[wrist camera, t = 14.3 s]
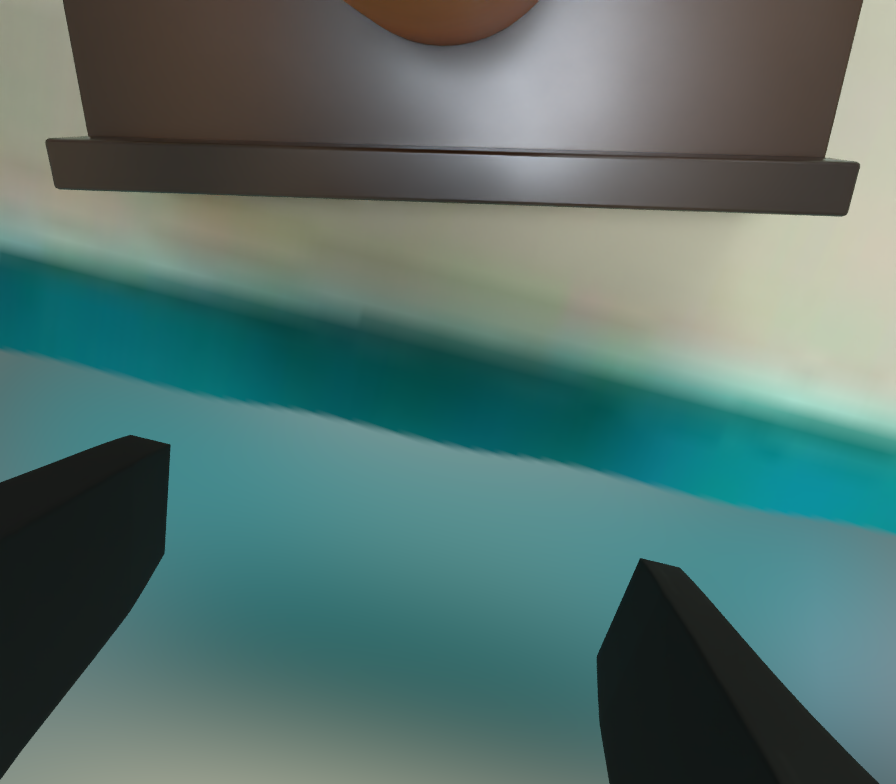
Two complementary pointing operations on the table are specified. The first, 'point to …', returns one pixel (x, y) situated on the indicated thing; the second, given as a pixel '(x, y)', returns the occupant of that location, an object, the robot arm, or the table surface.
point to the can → (443, 18)
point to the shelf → (466, 105)
